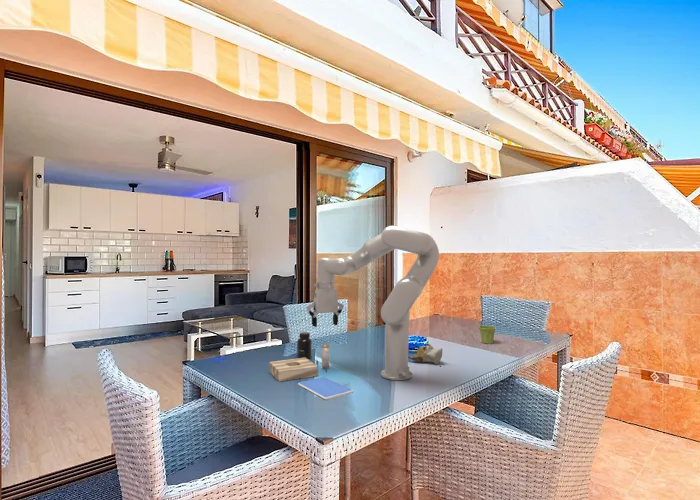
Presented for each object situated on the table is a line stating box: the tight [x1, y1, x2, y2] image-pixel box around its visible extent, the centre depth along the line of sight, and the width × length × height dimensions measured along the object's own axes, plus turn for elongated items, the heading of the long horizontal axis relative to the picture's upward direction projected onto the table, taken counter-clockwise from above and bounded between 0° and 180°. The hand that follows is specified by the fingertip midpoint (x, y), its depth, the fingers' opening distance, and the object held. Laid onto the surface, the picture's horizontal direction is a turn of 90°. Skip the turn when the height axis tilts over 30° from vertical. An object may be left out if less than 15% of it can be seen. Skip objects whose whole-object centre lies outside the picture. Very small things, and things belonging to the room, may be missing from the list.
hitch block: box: [269, 357, 319, 383], centre depth 159 cm, size 14×16×4 cm
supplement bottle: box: [296, 331, 313, 360], centre depth 182 cm, size 7×7×12 cm
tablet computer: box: [297, 376, 354, 400], centre depth 143 cm, size 19×13×1 cm, turn 37°
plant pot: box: [478, 325, 497, 345], centre depth 216 cm, size 9×9×9 cm
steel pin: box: [321, 343, 330, 370], centre depth 167 cm, size 3×3×10 cm
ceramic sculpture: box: [408, 343, 443, 365], centre depth 178 cm, size 11×9×15 cm
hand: (324, 325), depth 167 cm, fingers open, 9 cm apart
